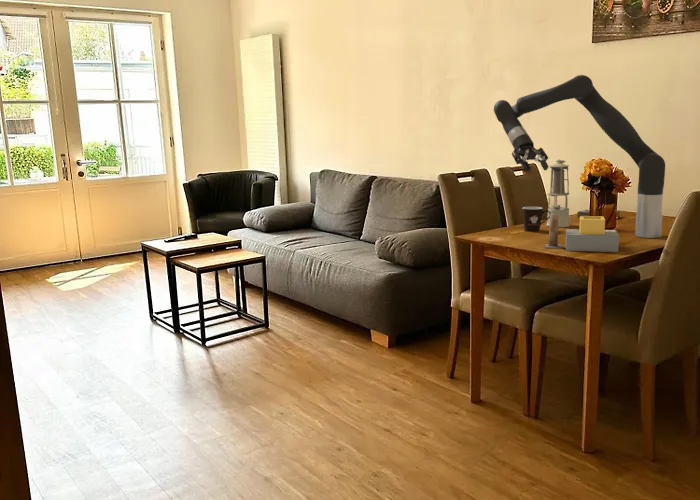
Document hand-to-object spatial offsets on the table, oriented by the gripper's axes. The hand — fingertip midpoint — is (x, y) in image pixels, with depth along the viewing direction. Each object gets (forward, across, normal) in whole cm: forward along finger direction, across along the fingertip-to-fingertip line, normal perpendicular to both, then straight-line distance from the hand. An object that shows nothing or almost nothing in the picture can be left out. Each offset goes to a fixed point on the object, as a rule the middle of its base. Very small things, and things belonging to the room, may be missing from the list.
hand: (538, 169), depth 252 cm
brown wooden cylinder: (+30, -3, +10) cm, 31 cm away
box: (-2, +63, +44) cm, 77 cm away
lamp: (+3, +32, +37) cm, 49 cm away
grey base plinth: (+36, +7, +4) cm, 37 cm away
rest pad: (+30, -3, +10) cm, 32 cm away
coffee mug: (+7, +14, +33) cm, 37 cm away
